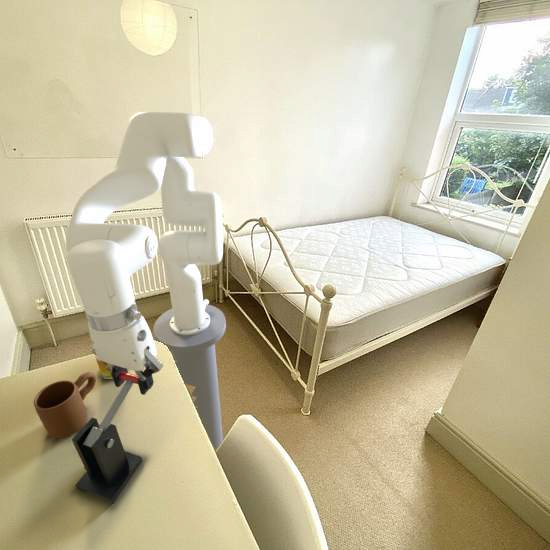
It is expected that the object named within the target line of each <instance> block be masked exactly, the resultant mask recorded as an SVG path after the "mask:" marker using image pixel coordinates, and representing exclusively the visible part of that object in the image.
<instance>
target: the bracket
mask: <svg viewBox="0 0 550 550" xmlns="http://www.w3.org/2000/svg"><path fill="white" fill-rule="evenodd" d="M99 426H100V424H99V422H98V418H96V417H95V418H94V417H91V418H90V419H89V420H88V421H86V422H85V424H84V425H83V427H82V428H81V429H80V430H78V431H77V432H76V433H75V435H74V436H73V437H72V438H71V442H72V444H73V447H74V448H75V451H76V453H77V455H78V457H79V459H80V461H81V463H82V465H83V467H84V469H85V471H86V472H85V473H84V474H83V475H82V477H81V478H80V479H79V480H78V482H77V483H76V484H75V489H76V490H78V491H80V492H84V493H86V494H88V495H90V496H93V497H94V498H97V499H100V500H102V501H105V502H107V503H109V504H112V505H113V504H115V502H116V501H117V499H118V498H119V496H120V495H121V494H122V492H123V491H124V489H125V488H126V486H127V484H128V483H129V481H130V480H131V478H132V477H133V475H134V474H135V473H136V471H137V470H138V468H139V467H140V465H141V464H142V462H143V457H142V456H140V455H137V454H134V453H131V452H129V451H125V449H124V448H125V447H124V445H123V443H122V440H121V437H120V434H119V431H118V428H117V425H115V424H113V423H110V425H109V426H108V428H107V429H106V430H105V431H104V432H103V433H102V435H101V436H100V437H99V438H98V439H97V440H96V442H95V443H94V444H93V445H92V446H91V447H88V446H86V445H84V444H83V442H84V441H85V439H86V438H87V436H88V434H89V433H90V431H91V429H92V428H93V427H95V428H98V427H99Z"/></svg>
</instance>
